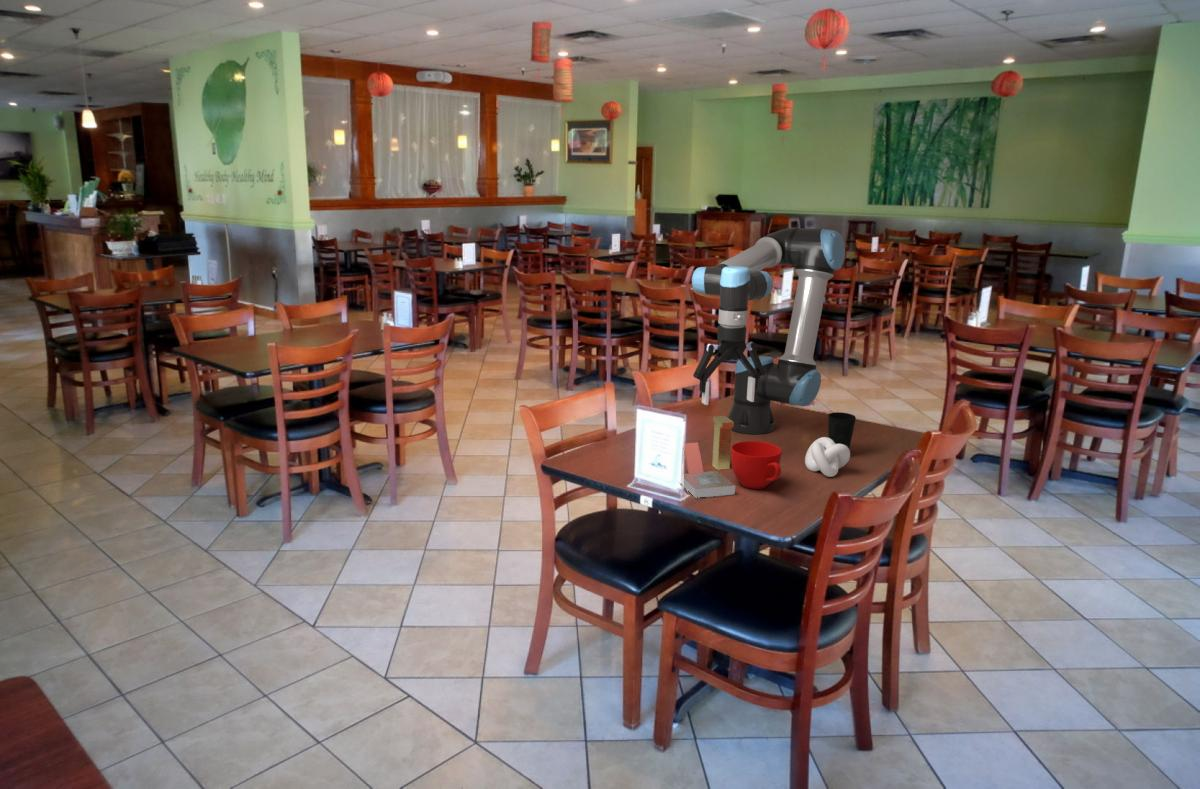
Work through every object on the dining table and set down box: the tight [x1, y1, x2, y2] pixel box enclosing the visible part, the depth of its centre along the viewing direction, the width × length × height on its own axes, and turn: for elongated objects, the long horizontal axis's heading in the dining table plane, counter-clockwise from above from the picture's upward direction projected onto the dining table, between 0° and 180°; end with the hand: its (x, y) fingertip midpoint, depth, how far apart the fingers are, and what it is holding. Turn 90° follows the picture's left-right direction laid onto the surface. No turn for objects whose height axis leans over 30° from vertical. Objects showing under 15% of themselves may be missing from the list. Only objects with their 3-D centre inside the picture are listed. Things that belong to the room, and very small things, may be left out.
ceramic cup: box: [730, 440, 782, 490], centre depth 211 cm, size 13×17×10 cm
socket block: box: [683, 470, 736, 499], centre depth 210 cm, size 11×11×2 cm
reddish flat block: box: [683, 442, 705, 473], centre depth 218 cm, size 10×5×2 cm
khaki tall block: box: [711, 415, 734, 471], centre depth 225 cm, size 6×4×14 cm, turn 16°
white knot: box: [804, 436, 851, 478], centre depth 222 cm, size 11×12×9 cm
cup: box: [827, 411, 857, 450], centre depth 236 cm, size 8×8×12 cm
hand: (727, 402), depth 221 cm, fingers open, 13 cm apart
